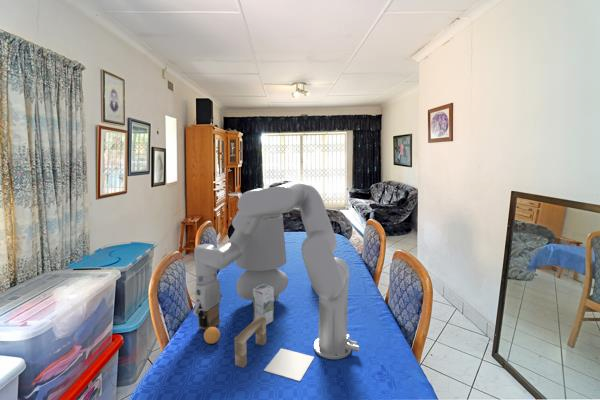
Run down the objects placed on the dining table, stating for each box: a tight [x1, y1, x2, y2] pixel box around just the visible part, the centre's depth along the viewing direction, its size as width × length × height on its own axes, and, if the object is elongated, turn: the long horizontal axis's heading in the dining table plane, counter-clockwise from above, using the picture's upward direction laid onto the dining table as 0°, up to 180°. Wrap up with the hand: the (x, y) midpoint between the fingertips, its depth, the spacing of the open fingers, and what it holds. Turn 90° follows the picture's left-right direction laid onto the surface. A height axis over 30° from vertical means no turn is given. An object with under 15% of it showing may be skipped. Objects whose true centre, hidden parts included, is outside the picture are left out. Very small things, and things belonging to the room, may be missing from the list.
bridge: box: [233, 316, 267, 368], centre depth 107 cm, size 3×14×9 cm, turn 157°
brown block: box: [197, 303, 221, 331], centre depth 123 cm, size 5×6×8 cm
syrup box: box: [252, 284, 275, 326], centre depth 126 cm, size 6×6×14 cm
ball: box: [203, 326, 221, 345], centre depth 113 cm, size 6×6×6 cm
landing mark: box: [263, 347, 315, 382], centre depth 102 cm, size 12×12×1 cm
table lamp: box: [235, 213, 289, 303], centre depth 140 cm, size 23×22×40 cm
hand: (209, 321), depth 124 cm, fingers closed on brown block, 6 cm apart
